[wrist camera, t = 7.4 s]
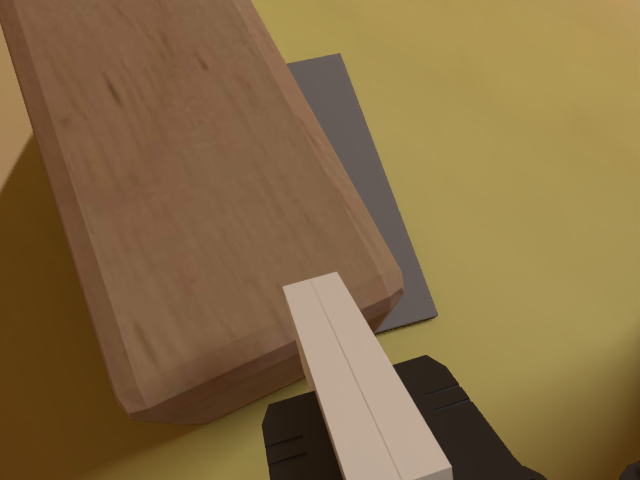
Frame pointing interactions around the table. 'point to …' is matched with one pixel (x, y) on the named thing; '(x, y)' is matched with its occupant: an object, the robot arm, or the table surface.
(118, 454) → the table surface
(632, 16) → the table surface
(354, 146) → the mat
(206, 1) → the wooden block
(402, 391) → the robot arm
